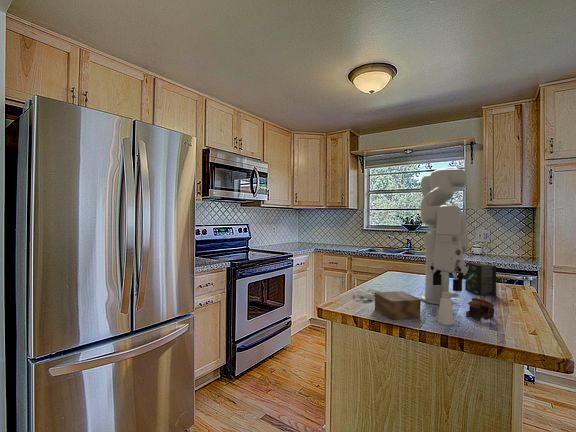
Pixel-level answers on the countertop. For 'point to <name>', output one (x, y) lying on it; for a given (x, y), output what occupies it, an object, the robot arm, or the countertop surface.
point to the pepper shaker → (445, 310)
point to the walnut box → (397, 305)
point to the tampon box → (480, 278)
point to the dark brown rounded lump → (480, 309)
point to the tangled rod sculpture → (367, 293)
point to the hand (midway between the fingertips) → (446, 287)
